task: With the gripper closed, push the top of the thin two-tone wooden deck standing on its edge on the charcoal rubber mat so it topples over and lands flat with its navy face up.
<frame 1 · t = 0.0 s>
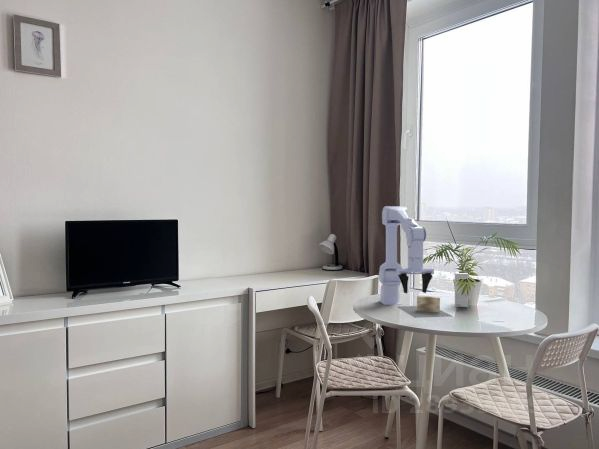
hand: (414, 292, 180), 10 cm above the table, tool pointing down, fingers open, 7 cm apart
deck: (428, 311, 192), resting on mat
mat: (423, 312, 192), on the table
skincare box: (461, 306, 205), on the table
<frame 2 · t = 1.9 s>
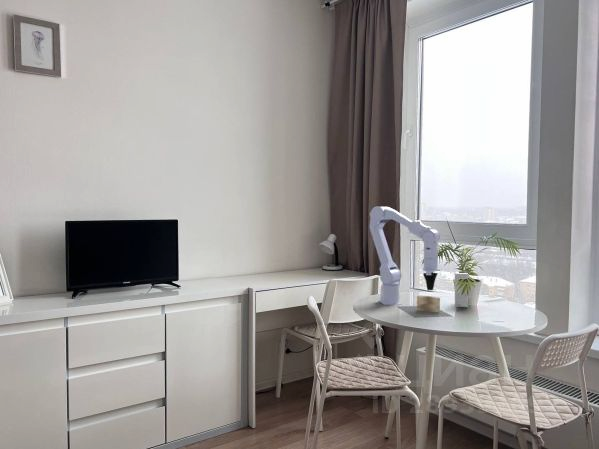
hand: (430, 290, 197), 8 cm above the table, tool pointing down, fingers closed
nothing on the table moved.
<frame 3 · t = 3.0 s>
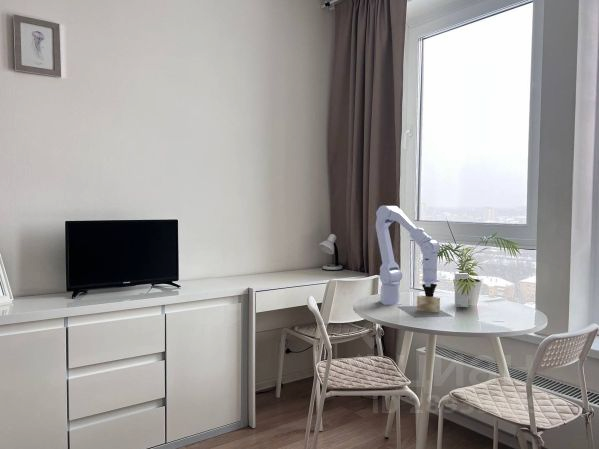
hand: (429, 301, 195), 4 cm above the table, tool pointing down, fingers closed
nothing on the table moved.
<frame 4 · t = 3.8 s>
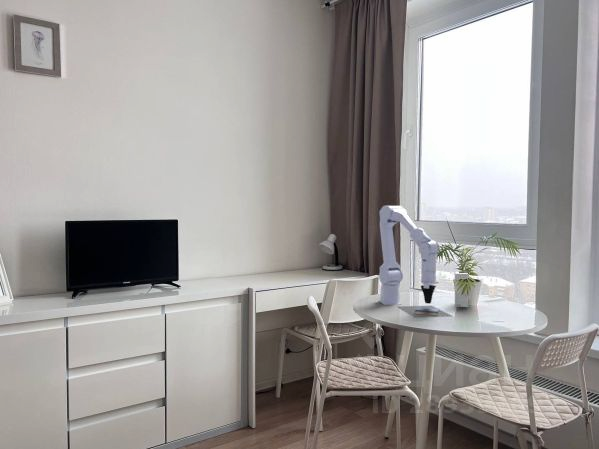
hand: (428, 303, 191), 4 cm above the table, tool pointing down, fingers closed
deck: (428, 309, 191), point 1 cm above the table, tilted 90°, touching mat
everything else where it was.
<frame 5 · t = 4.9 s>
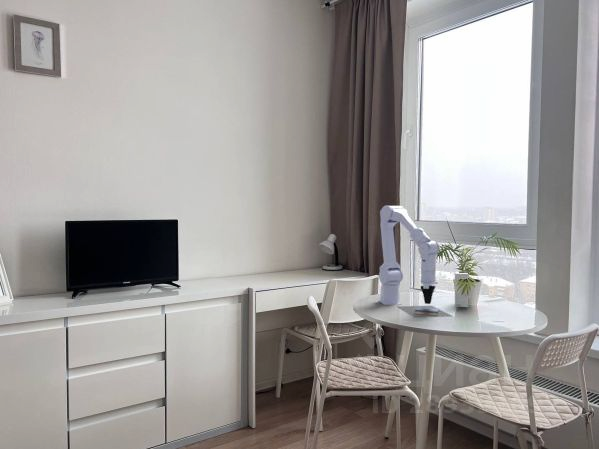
hand: (427, 303, 190), 4 cm above the table, tool pointing down, fingers closed
nothing on the table moved.
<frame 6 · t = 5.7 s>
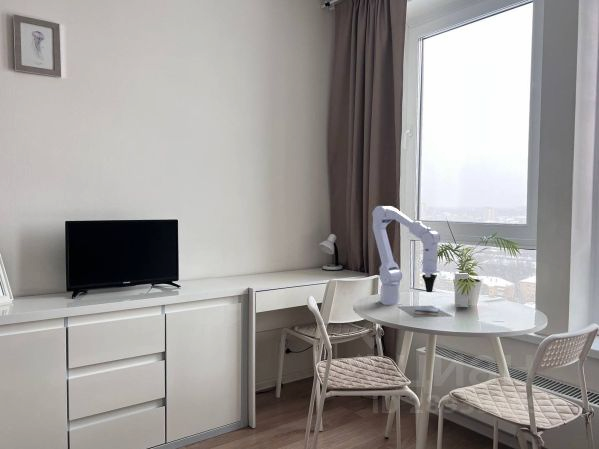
hand: (429, 291, 194), 8 cm above the table, tool pointing down, fingers closed
nothing on the table moved.
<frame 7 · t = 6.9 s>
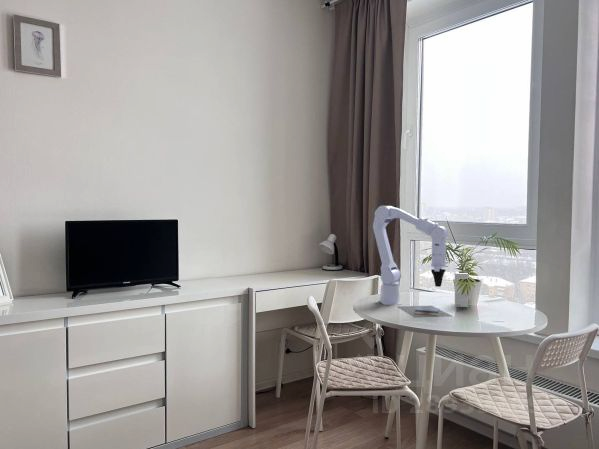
hand: (438, 286, 196), 10 cm above the table, tool pointing down, fingers closed
nothing on the table moved.
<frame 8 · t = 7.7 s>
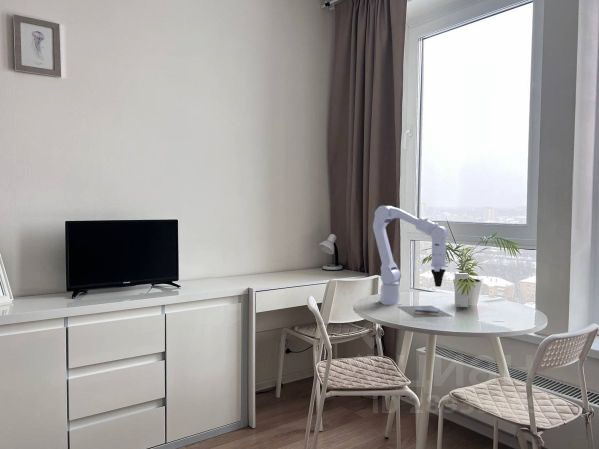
hand: (438, 286, 196), 10 cm above the table, tool pointing down, fingers closed
nothing on the table moved.
at the end: deck tilted 90°; deck inside the target area (1.8 cm from its centre), point 1.2 cm above the table; deck touching mat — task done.
